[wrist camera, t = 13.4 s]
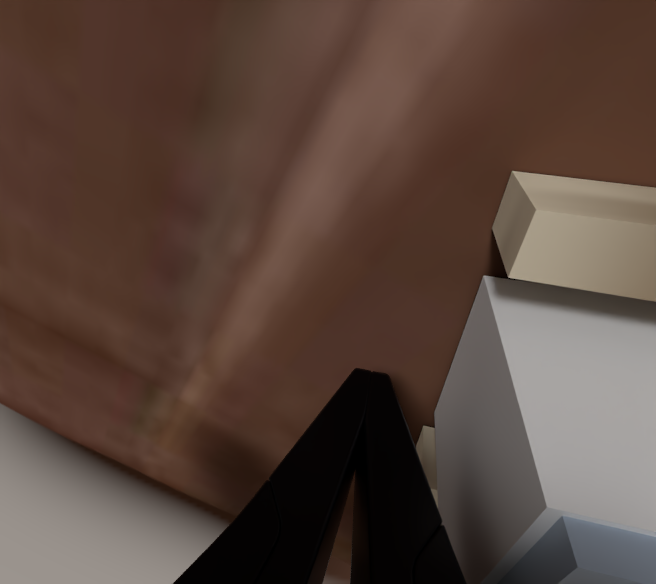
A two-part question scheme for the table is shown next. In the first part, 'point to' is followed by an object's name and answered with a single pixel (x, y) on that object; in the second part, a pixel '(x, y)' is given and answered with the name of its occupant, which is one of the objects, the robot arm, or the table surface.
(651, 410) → the plug block
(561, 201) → the guide rails
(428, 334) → the table surface
